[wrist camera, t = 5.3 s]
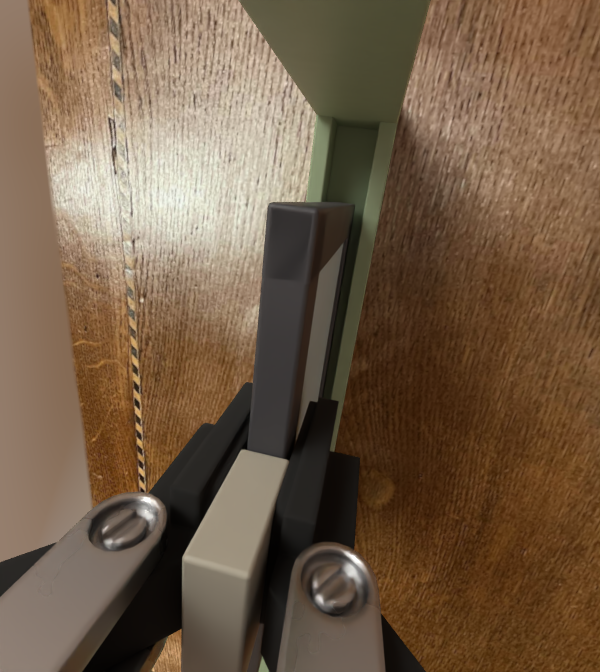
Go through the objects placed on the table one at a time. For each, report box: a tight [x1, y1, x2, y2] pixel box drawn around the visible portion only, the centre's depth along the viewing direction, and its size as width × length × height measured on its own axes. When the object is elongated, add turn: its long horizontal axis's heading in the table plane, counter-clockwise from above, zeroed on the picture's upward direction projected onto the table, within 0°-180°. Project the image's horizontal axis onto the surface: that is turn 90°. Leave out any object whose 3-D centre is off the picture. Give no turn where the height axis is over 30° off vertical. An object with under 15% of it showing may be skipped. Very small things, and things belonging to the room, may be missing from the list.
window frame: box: [239, 0, 431, 672], centre depth 14 cm, size 3×27×13 cm, turn 173°
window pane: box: [181, 202, 355, 672], centre depth 11 cm, size 1×12×12 cm, turn 173°
